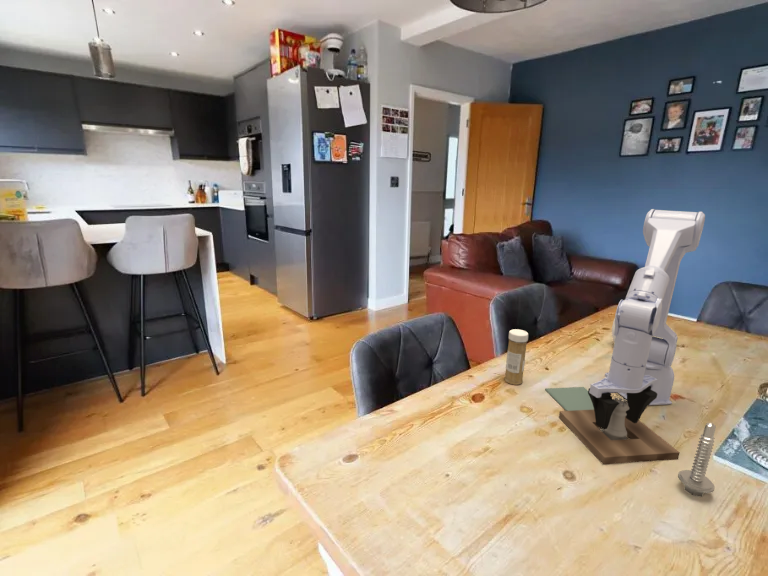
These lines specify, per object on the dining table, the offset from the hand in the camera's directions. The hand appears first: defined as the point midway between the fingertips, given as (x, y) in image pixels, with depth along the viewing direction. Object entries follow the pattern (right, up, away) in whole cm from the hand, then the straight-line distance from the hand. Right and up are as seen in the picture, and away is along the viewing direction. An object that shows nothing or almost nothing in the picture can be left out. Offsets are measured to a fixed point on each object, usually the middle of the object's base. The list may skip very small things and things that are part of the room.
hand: (616, 423), depth 80 cm
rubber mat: (-1, +1, +14) cm, 14 cm away
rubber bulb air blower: (+28, +8, +45) cm, 54 cm away
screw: (+5, -7, -13) cm, 16 cm away
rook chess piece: (0, -3, +1) cm, 3 cm away
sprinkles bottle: (-13, +3, +23) cm, 26 cm away
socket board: (0, -3, +1) cm, 3 cm away
